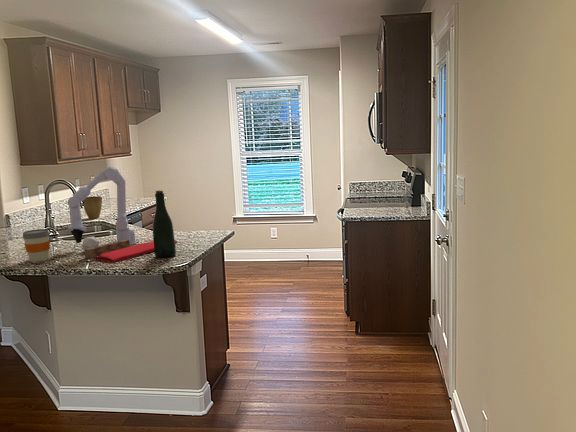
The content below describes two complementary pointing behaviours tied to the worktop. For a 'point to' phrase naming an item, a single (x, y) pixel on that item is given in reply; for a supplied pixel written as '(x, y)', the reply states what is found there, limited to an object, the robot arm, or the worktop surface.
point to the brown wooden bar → (105, 248)
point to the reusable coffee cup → (37, 244)
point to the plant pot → (93, 206)
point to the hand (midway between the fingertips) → (78, 242)
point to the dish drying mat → (127, 252)
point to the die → (90, 242)
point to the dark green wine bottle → (163, 229)
